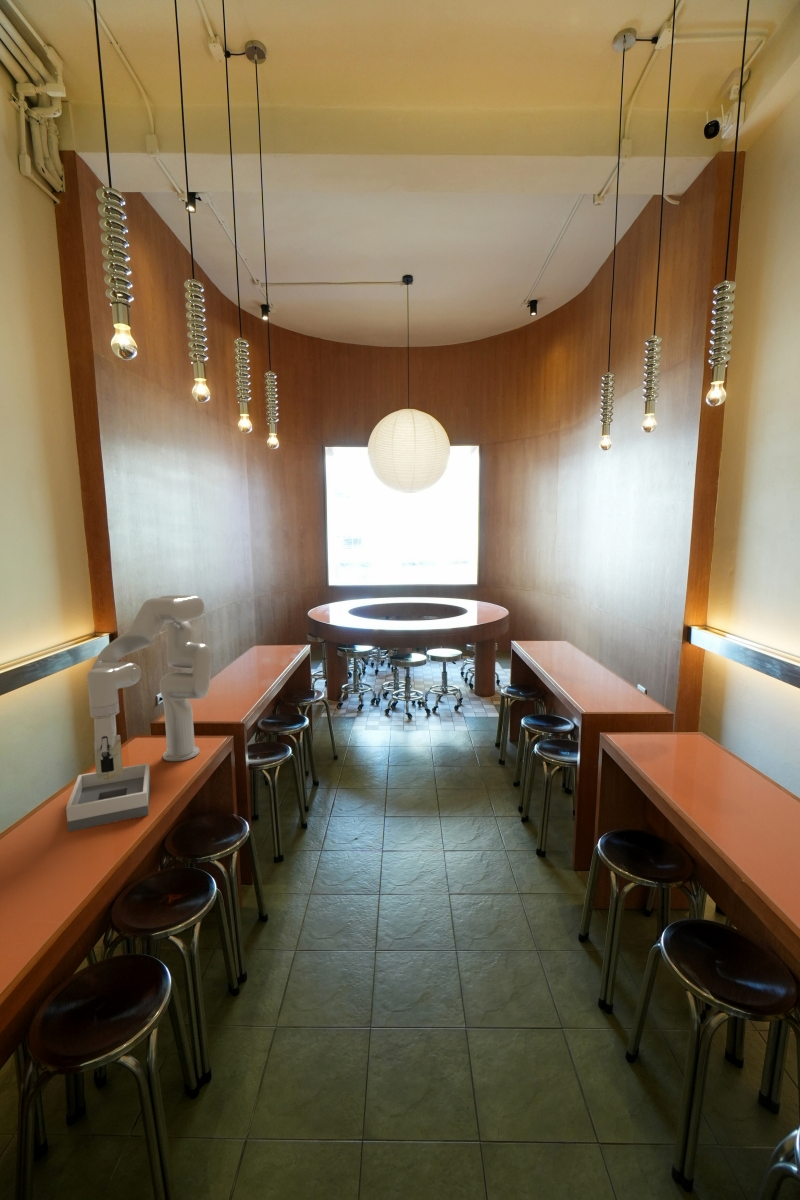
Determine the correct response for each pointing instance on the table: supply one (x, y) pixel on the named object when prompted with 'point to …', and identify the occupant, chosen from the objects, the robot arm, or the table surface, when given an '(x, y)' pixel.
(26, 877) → the table surface
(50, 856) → the table surface
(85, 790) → the bore box
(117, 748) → the skincare box
